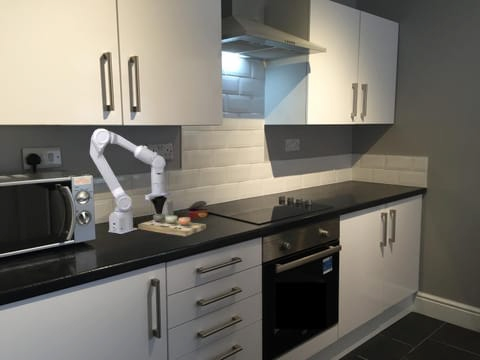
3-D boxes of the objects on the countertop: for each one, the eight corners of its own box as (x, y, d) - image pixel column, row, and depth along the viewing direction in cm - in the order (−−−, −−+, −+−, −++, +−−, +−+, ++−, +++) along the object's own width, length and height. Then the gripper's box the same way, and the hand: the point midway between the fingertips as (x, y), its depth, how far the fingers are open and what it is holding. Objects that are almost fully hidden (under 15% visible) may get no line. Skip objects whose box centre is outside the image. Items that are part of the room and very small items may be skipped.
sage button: (172, 223, 179) (172, 218, 178) (163, 221, 181) (163, 217, 181) (179, 220, 183) (179, 216, 183) (170, 219, 186) (170, 215, 185)
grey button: (159, 221, 182) (159, 216, 182) (151, 220, 185) (150, 215, 185) (167, 219, 187) (167, 214, 186) (158, 217, 189) (158, 213, 189)
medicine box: (173, 217, 205) (173, 200, 204) (167, 219, 201) (167, 201, 200) (161, 216, 209) (160, 198, 208) (155, 217, 205) (154, 200, 204)
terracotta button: (185, 224, 175) (185, 220, 175) (176, 223, 178) (176, 218, 177) (192, 222, 179) (192, 217, 179) (183, 221, 182) (183, 216, 182)
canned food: (191, 227, 205) (181, 210, 203) (194, 220, 215) (184, 204, 213) (211, 217, 203) (201, 199, 201) (213, 210, 213) (203, 193, 211)
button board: (185, 236, 170) (185, 230, 170) (138, 228, 183) (137, 223, 183) (205, 229, 182) (205, 223, 182) (159, 222, 195) (159, 217, 195)
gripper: (153, 185, 175) (154, 217, 177) (176, 181, 188) (176, 211, 189) (141, 184, 179) (142, 216, 181) (163, 180, 191) (164, 210, 193)
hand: (159, 213), depth 185 cm, fingers closed
